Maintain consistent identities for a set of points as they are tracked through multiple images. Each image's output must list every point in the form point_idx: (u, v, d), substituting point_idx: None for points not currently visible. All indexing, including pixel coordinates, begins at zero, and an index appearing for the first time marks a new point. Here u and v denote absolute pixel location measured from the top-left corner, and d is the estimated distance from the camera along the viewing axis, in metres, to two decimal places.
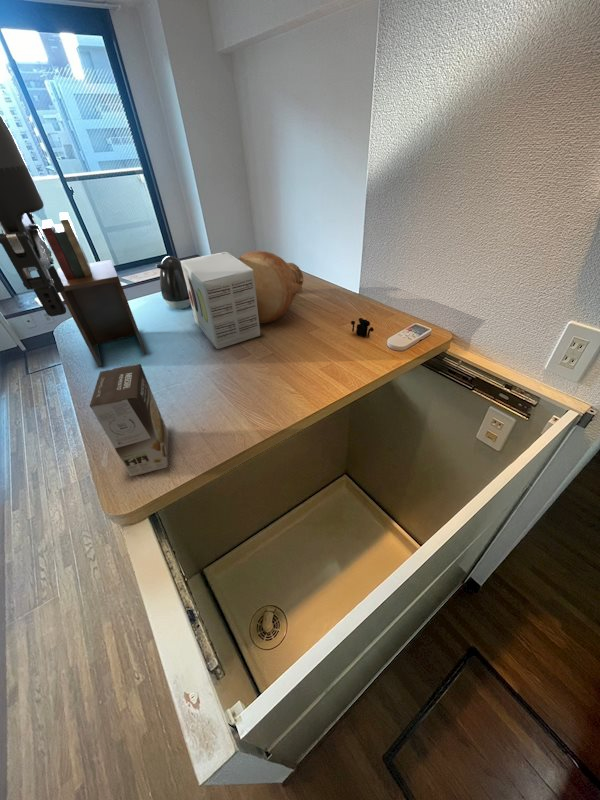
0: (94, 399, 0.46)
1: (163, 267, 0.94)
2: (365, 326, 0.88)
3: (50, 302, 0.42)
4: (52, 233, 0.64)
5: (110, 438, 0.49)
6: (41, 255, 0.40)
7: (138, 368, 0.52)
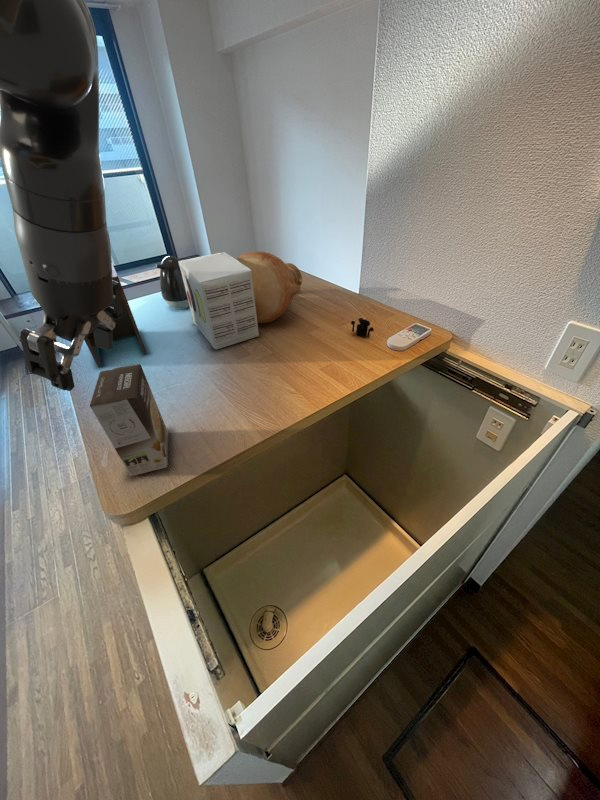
0: (94, 399, 0.46)
1: (163, 267, 0.94)
2: (365, 326, 0.88)
3: (56, 381, 0.39)
4: None
5: (110, 438, 0.49)
6: (71, 346, 0.37)
7: (138, 368, 0.52)
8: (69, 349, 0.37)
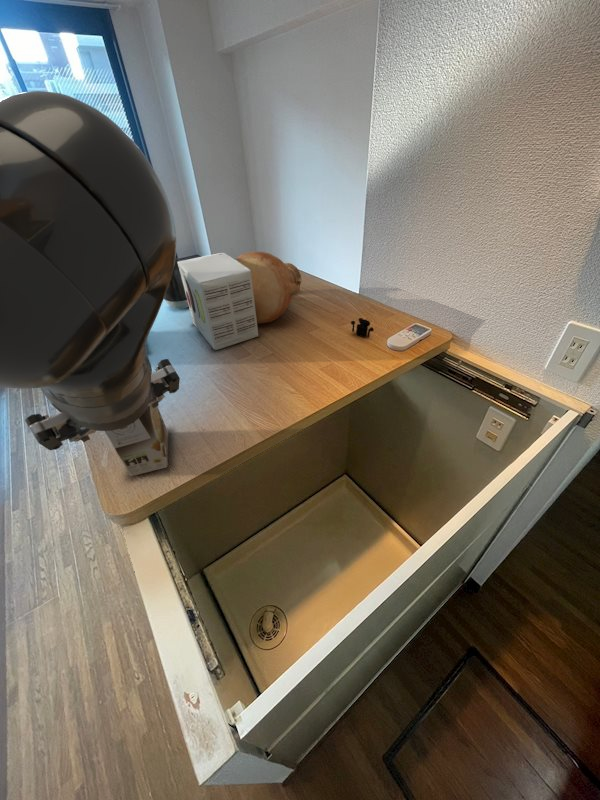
0: None
1: None
2: (365, 326, 0.88)
3: None
4: None
5: (110, 438, 0.49)
6: (85, 430, 0.33)
7: None
8: (82, 430, 0.33)
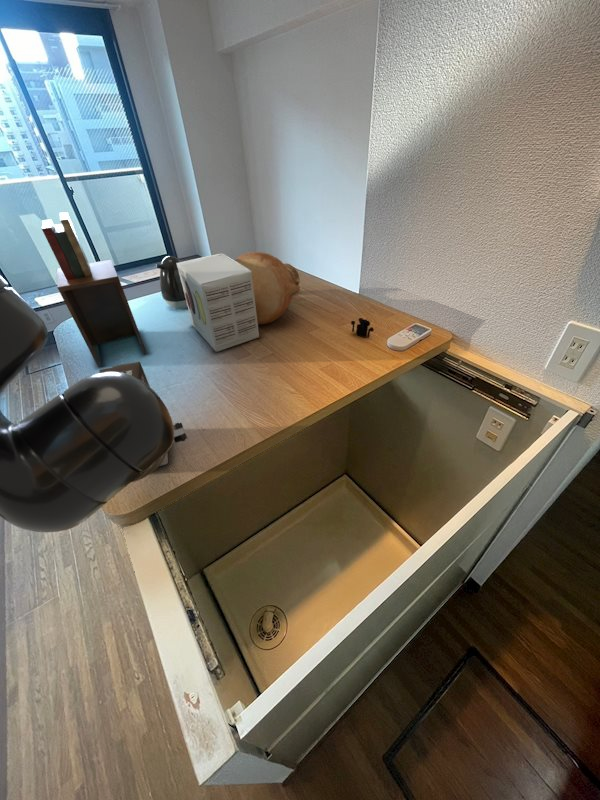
0: None
1: (163, 267, 0.94)
2: (365, 326, 0.88)
3: None
4: (52, 233, 0.64)
5: None
6: None
7: (138, 365, 0.52)
8: None
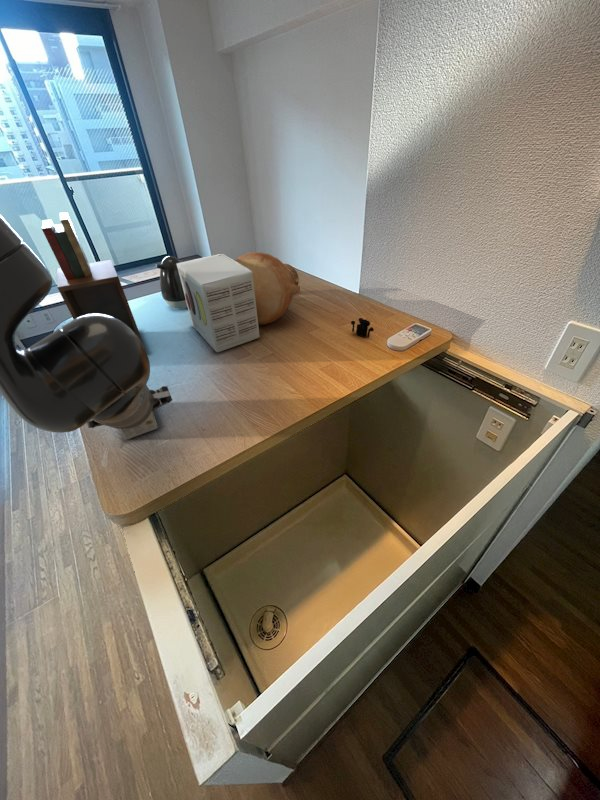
0: None
1: (163, 267, 0.94)
2: (365, 326, 0.88)
3: None
4: (52, 233, 0.64)
5: None
6: None
7: None
8: None
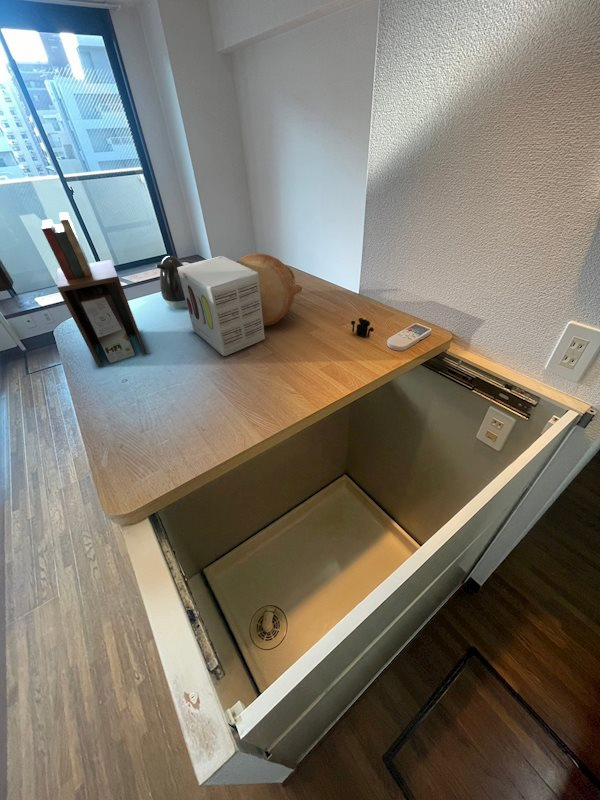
0: (82, 299, 0.71)
1: (163, 267, 0.94)
2: (365, 326, 0.88)
3: None
4: (52, 233, 0.64)
5: (95, 329, 0.75)
6: None
7: (103, 284, 0.78)
8: None
